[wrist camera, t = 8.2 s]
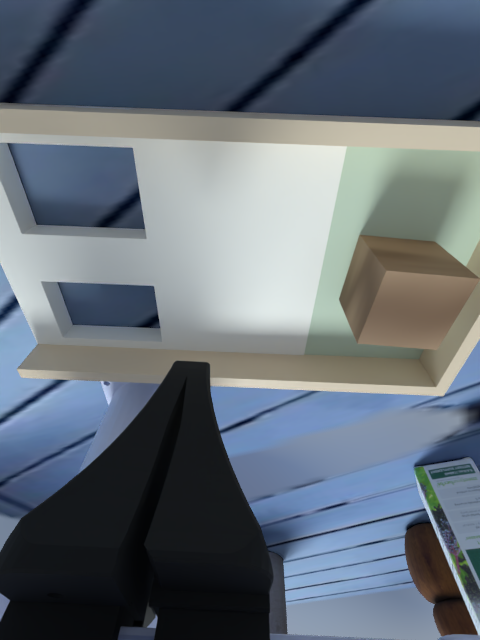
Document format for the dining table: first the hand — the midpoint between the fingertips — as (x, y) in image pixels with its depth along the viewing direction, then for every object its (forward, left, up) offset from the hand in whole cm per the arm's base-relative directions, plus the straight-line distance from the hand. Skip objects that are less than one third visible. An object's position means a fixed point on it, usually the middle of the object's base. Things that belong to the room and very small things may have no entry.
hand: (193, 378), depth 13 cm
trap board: (+1, -1, -9) cm, 9 cm away
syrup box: (-23, -24, -10) cm, 35 cm away
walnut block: (+1, -10, -8) cm, 13 cm away
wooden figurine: (-37, -27, -10) cm, 47 cm away
